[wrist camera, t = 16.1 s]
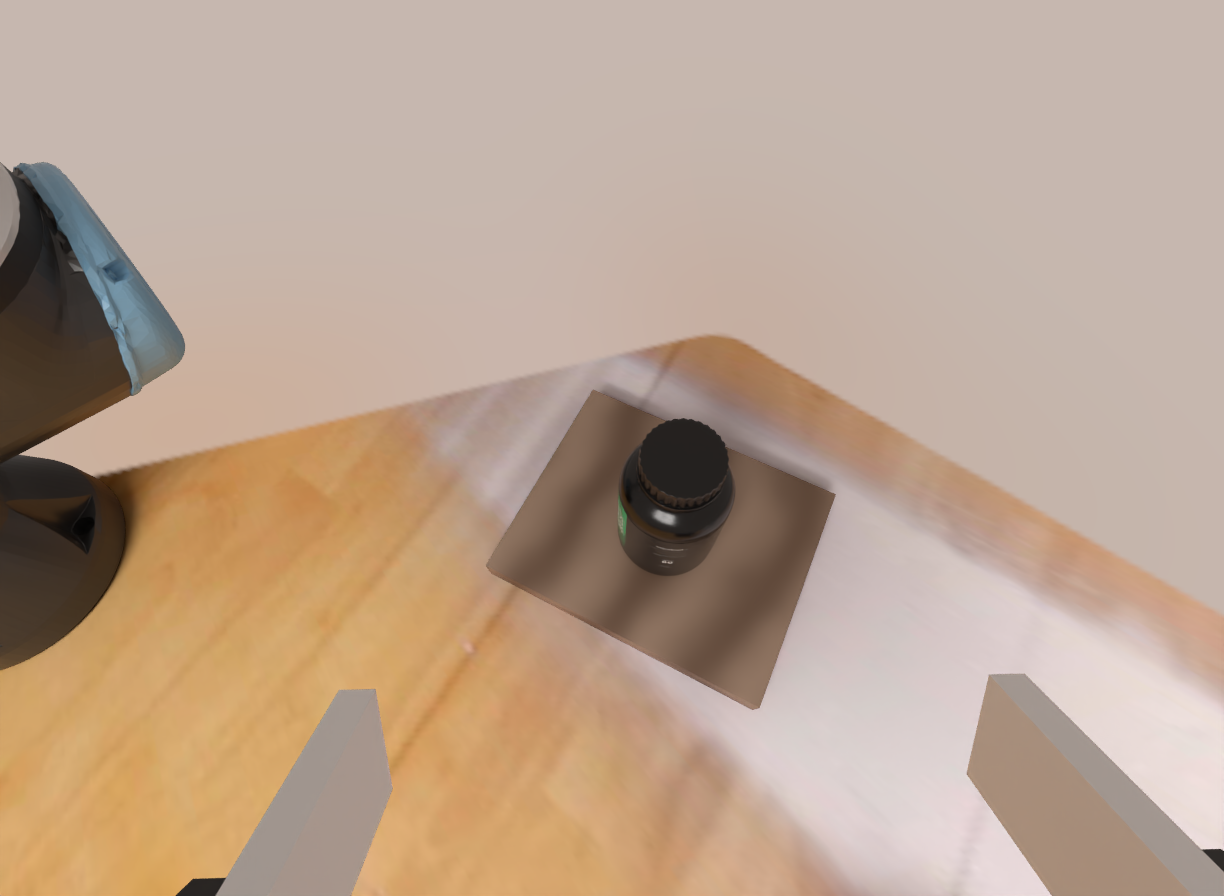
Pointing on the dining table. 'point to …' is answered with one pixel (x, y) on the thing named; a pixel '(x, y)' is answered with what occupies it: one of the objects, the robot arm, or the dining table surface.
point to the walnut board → (666, 605)
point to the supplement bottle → (674, 497)
